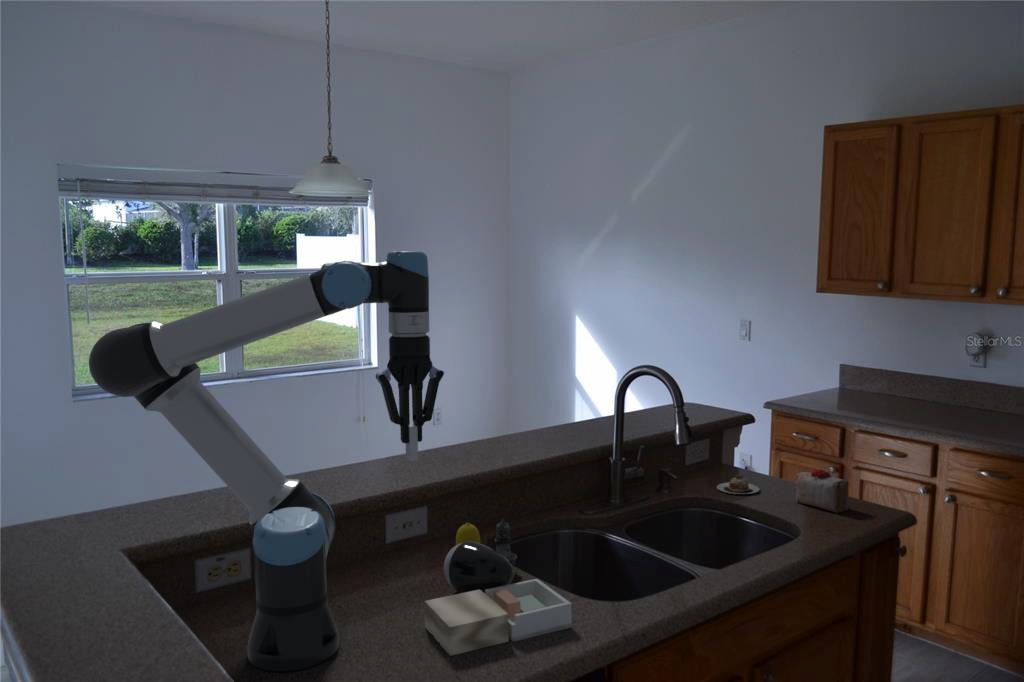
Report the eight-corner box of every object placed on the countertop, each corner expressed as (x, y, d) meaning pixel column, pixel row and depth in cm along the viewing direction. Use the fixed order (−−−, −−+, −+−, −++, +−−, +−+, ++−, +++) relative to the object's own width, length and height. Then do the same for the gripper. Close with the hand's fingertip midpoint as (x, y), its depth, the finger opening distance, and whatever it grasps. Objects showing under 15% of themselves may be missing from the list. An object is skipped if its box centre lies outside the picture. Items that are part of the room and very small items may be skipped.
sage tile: (545, 606, 145) (546, 620, 145) (531, 594, 150) (531, 607, 150) (523, 611, 143) (524, 625, 143) (509, 599, 148) (509, 612, 148)
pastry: (761, 498, 223) (761, 482, 222) (717, 496, 226) (717, 480, 225) (757, 486, 234) (758, 471, 234) (716, 485, 237) (716, 469, 237)
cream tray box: (450, 655, 133) (449, 627, 133) (425, 627, 144) (424, 601, 144) (508, 641, 138) (508, 613, 138) (480, 615, 149) (479, 589, 149)
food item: (789, 502, 217) (790, 467, 216) (807, 497, 222) (808, 463, 221) (835, 515, 206) (836, 477, 205) (852, 509, 211) (853, 473, 210)
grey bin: (512, 641, 138) (512, 617, 138) (481, 613, 150) (481, 590, 149) (571, 627, 143) (571, 603, 143) (537, 600, 155) (537, 578, 155)
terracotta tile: (508, 604, 141) (520, 601, 142) (493, 591, 147) (505, 589, 148) (508, 628, 142) (520, 625, 143) (493, 615, 147) (506, 612, 148)
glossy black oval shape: (445, 531, 160) (501, 540, 151) (476, 548, 167) (532, 557, 157) (428, 581, 156) (485, 594, 147) (461, 596, 163) (518, 609, 153)
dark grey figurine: (484, 575, 168) (483, 520, 167) (498, 566, 173) (497, 512, 172) (509, 580, 166) (508, 524, 164) (522, 570, 171) (521, 516, 170)
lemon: (452, 560, 177) (452, 526, 176) (460, 552, 182) (459, 518, 181) (476, 562, 176) (476, 527, 175) (483, 553, 181) (482, 519, 180)
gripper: (381, 337, 141) (384, 467, 143) (449, 334, 147) (451, 459, 149) (369, 334, 148) (372, 459, 150) (435, 331, 153) (437, 451, 155)
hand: (411, 459), depth 149 cm, fingers closed
